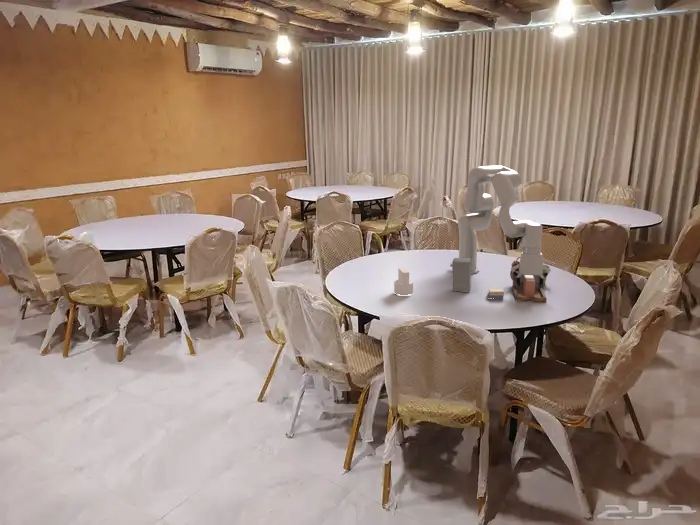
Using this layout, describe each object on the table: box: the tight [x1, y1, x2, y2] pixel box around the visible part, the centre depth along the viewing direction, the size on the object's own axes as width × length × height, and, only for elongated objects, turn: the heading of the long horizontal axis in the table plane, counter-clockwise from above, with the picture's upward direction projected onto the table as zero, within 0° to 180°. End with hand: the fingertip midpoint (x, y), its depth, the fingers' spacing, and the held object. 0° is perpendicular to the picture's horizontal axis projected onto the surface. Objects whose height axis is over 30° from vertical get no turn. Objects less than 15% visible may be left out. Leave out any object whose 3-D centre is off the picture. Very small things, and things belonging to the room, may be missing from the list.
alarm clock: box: [509, 256, 521, 281], centre depth 249 cm, size 11×5×15 cm, turn 100°
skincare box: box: [451, 257, 472, 293], centre depth 244 cm, size 8×7×16 cm
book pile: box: [486, 288, 505, 300], centre depth 234 cm, size 7×4×4 cm, turn 78°
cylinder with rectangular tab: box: [393, 266, 414, 295], centre depth 242 cm, size 9×9×12 cm
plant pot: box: [543, 264, 551, 285], centre depth 253 cm, size 9×9×9 cm
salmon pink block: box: [523, 275, 535, 297], centre depth 236 cm, size 4×9×8 cm, turn 167°
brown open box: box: [511, 271, 548, 303], centre depth 235 cm, size 13×17×9 cm
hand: (529, 285), depth 235 cm, fingers open, 9 cm apart
